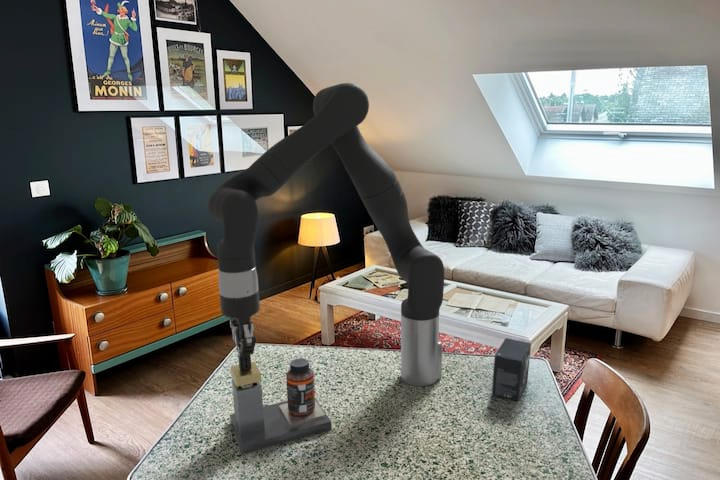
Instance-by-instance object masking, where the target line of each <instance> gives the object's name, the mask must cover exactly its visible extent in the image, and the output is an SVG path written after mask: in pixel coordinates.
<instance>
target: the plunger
mask: <svg viewBox="0 0 720 480" xmlns="http://www.w3.org/2000/svg"><path fill="white" fill-rule="evenodd" d="M230 374H231V377H232V380H234V382H235V385H236V387H238V386H241V389H243V388H248V387H252V386H253V383H256V382H260V383H261V382H262V374H261V370H260V369H259V367H258V366H257V364H256V361H251V370H249V371H245V372H241V370H240V368H239V364H238V365H232V366H230Z"/></svg>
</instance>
